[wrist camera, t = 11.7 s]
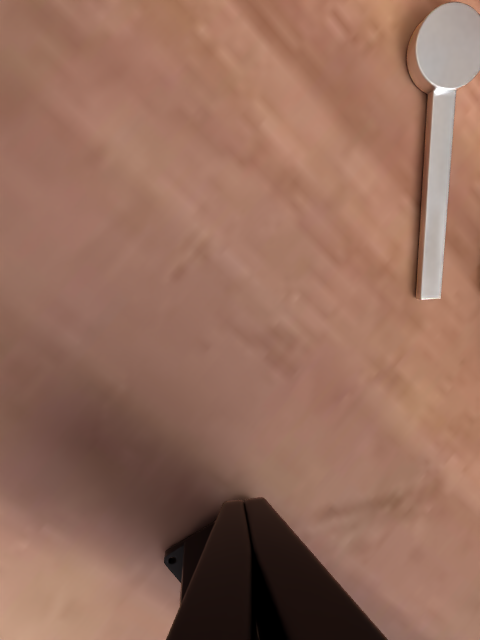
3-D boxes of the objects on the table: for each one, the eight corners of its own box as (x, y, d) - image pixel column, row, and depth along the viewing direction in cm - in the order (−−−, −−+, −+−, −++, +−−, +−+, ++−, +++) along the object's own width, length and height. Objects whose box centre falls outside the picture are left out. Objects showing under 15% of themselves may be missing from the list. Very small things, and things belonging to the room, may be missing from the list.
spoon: (455, 295, 20) (465, 297, 19) (394, 300, 19) (402, 302, 18) (478, 12, 17) (492, 1, 16) (407, 12, 16) (418, 0, 15)
